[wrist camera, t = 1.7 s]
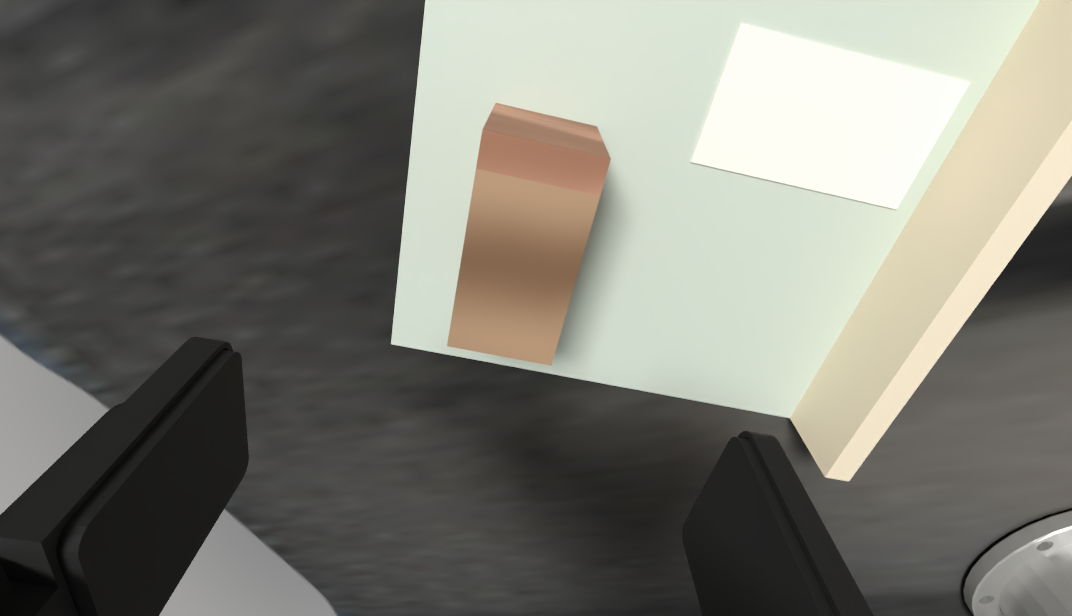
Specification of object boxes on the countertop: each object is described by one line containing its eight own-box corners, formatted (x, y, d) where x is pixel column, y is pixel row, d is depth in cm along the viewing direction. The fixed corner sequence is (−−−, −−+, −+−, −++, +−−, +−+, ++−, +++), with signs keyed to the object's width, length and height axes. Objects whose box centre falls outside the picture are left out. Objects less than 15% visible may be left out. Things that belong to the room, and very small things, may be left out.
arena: (807, 415, 28) (848, 481, 24) (393, 338, 26) (367, 396, 22) (1160, -157, 17) (1349, -206, 13) (467, -379, 15) (438, -518, 11)
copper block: (550, 301, 25) (551, 365, 20) (464, 284, 24) (447, 346, 20) (596, 126, 21) (610, 158, 16) (495, 102, 20) (482, 129, 16)
